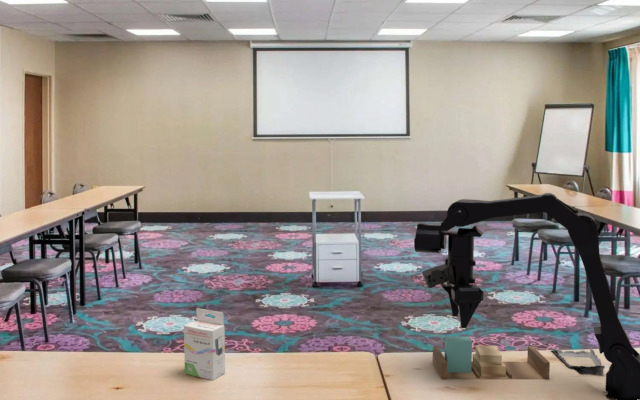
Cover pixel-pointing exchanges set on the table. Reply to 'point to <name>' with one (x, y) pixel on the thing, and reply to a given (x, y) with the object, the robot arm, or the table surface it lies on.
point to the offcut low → (489, 369)
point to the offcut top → (488, 355)
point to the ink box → (205, 345)
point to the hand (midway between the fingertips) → (459, 321)
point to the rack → (531, 369)
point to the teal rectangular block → (458, 353)
